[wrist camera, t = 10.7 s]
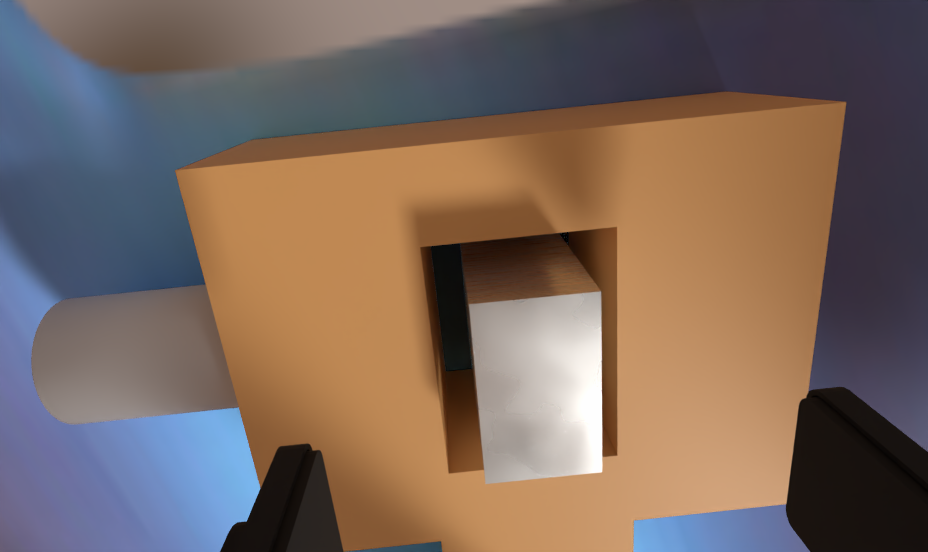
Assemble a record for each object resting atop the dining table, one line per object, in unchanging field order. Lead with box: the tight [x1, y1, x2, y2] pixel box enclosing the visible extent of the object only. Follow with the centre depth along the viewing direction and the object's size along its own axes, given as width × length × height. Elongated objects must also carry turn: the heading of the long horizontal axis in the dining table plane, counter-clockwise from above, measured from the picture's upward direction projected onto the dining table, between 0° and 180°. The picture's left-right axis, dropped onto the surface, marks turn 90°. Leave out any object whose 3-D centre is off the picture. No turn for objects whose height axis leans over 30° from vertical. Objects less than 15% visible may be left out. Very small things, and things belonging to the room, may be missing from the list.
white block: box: [460, 233, 602, 484], centre depth 18 cm, size 3×5×8 cm, turn 5°
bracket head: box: [31, 91, 846, 552], centre depth 19 cm, size 22×15×6 cm
